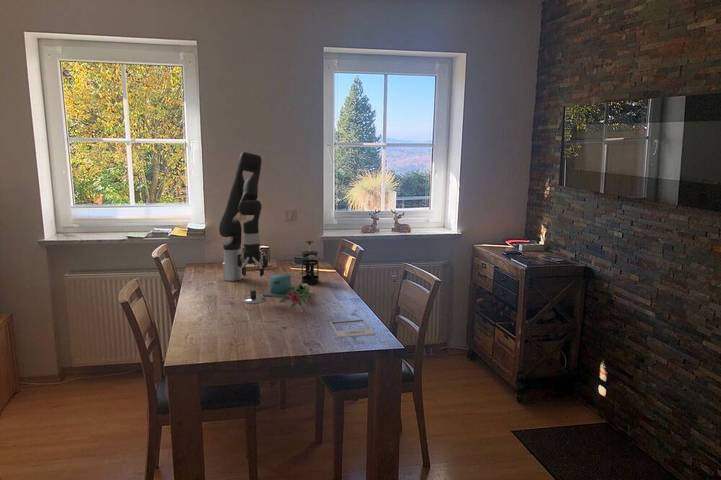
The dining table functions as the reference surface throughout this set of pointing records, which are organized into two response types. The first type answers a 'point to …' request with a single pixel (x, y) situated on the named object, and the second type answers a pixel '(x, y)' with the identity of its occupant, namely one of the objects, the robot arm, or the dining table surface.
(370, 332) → the photo frame
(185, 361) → the dining table surface
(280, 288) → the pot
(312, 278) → the french press
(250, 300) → the lid
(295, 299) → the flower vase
